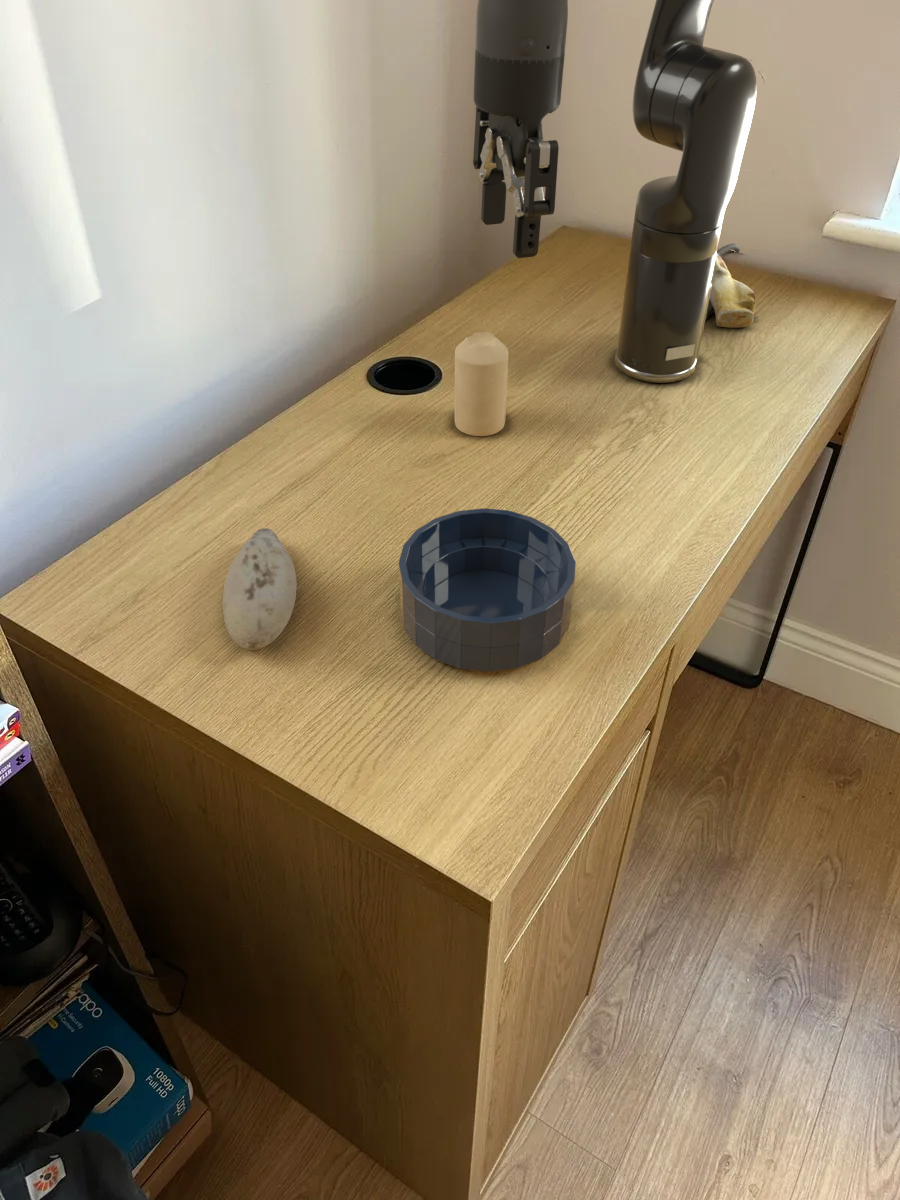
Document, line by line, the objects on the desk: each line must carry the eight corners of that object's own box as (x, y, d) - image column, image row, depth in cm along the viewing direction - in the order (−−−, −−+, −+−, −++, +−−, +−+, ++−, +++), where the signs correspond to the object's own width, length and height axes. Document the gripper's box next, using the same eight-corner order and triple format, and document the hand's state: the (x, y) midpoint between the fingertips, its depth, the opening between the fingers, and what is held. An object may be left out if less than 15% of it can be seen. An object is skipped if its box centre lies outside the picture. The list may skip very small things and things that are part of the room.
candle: (500, 439, 102) (504, 353, 95) (449, 433, 103) (450, 348, 96) (508, 412, 106) (513, 328, 99) (459, 407, 107) (460, 323, 100)
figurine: (770, 312, 119) (742, 246, 129) (736, 296, 117) (709, 231, 127) (744, 344, 123) (718, 278, 132) (709, 329, 121) (686, 263, 130)
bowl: (480, 541, 89) (482, 488, 85) (602, 614, 82) (611, 560, 78) (367, 616, 82) (363, 562, 78) (490, 704, 75) (493, 649, 71)
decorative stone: (298, 541, 89) (294, 512, 87) (298, 661, 78) (294, 630, 76) (231, 546, 89) (226, 517, 86) (221, 667, 77) (214, 637, 75)
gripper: (597, 63, 76) (575, 264, 87) (530, 25, 86) (517, 209, 97) (509, 68, 74) (497, 273, 85) (450, 28, 84) (446, 216, 95)
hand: (508, 238), depth 91 cm, fingers open, 8 cm apart
